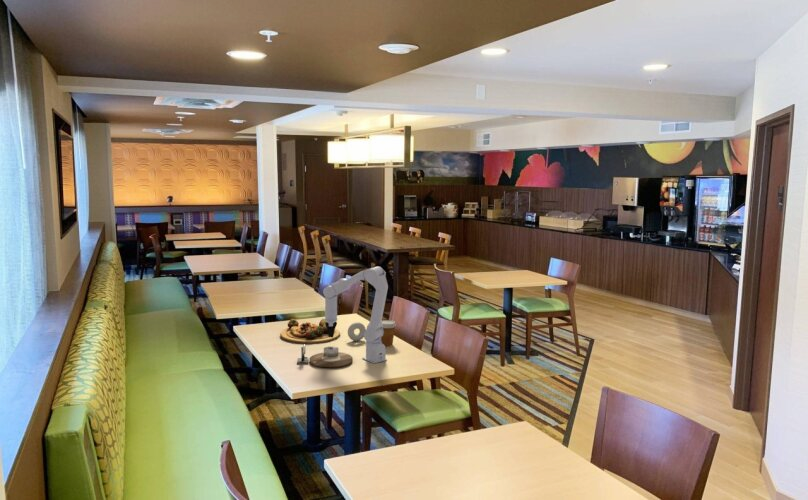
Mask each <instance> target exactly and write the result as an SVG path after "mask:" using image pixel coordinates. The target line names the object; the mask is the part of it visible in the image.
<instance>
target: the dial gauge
mask: <svg viewBox="0 0 808 500" xmlns="http://www.w3.org/2000/svg"><path fill="white" fill-rule="evenodd" d="M306 345H307V344H302V346H301V348H300V349H301V351H300V352H301V354H300V355H301V357H300V358H299V357H297V361H296V363H297V364H296V365H308V364H309V363H310V361H309V359H310V357H308V356H305V355H306V347H307V346H306Z"/></svg>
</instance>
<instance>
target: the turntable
mask: <svg viewBox="0 0 808 500" xmlns="http://www.w3.org/2000/svg"><path fill="white" fill-rule="evenodd" d="M353 361H354V360H353V356H352V355H351V354H349V353H345V352H340V351H338V356H335V357H326V356H324V352H319V353H316V354H312V355H311V356H310V357H309V364H310V365H312V366H315V367H319V368H341V367H345V366H348V365H350V364H351V363H353Z"/></svg>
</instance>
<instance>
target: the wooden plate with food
mask: <svg viewBox="0 0 808 500" xmlns="http://www.w3.org/2000/svg"><path fill="white" fill-rule="evenodd" d="M325 322H326V321H324V320H323V318H321V320H320V321H319V322H318V324H315V323H311V322H308V321H306V322H302V323H301V324H299V321H298V320H296V319H295V318H292V319H290V320H289V321H288V323H287V327H286V328H285V329H283V330H282V331H281V332H280V338H281V340H283V341H285V342H286V343H287V342H288V343H291V344H298V345H300V344H301V345H303V344H305V345H315V344H316V345H317V344H324V343H330V342H333V341H335V340H337V339H339V338H340V336H341V332H340V330H339V329H338V328H336V327H335V331H334V336H333V337H329V336H328V330H327V327H326V325H325Z"/></svg>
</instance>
